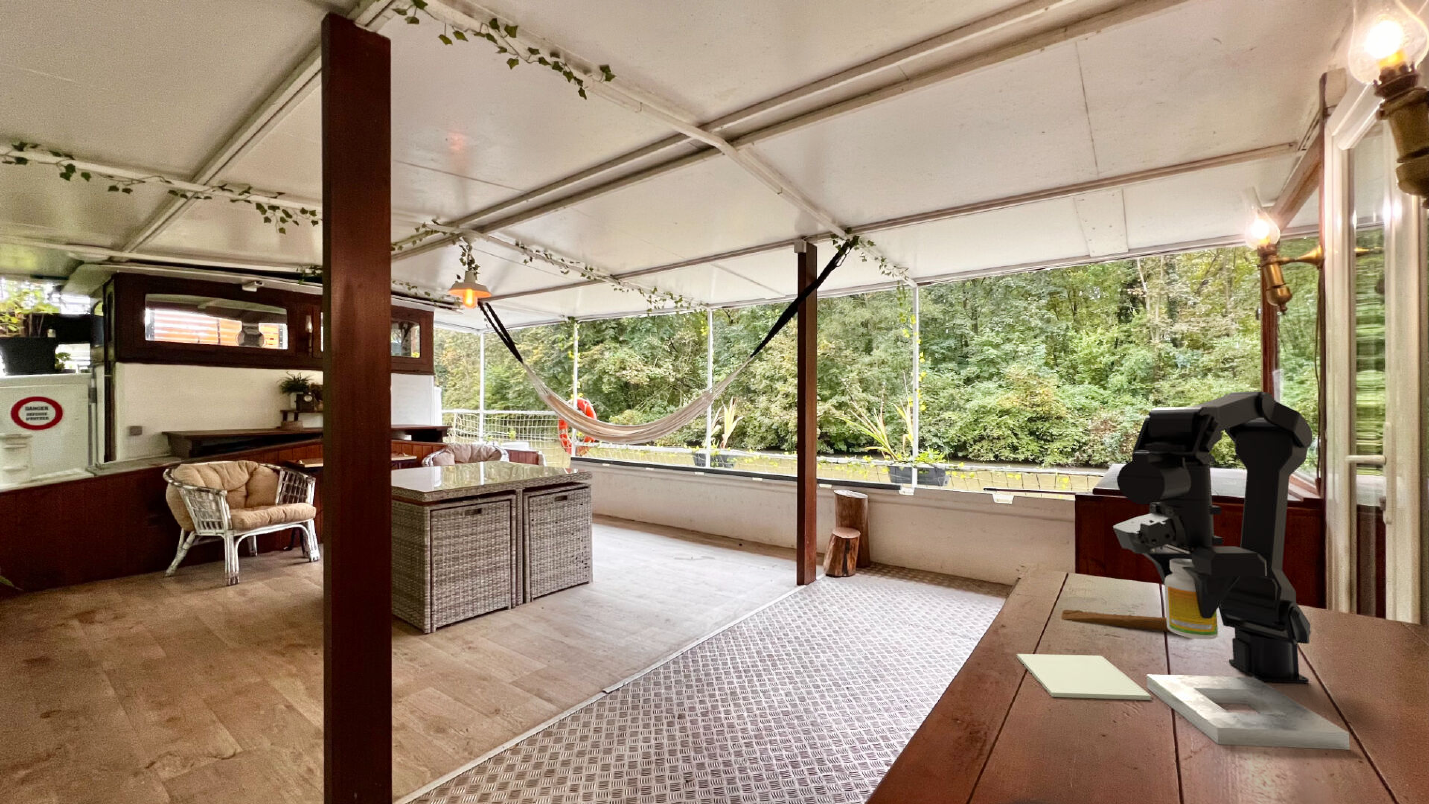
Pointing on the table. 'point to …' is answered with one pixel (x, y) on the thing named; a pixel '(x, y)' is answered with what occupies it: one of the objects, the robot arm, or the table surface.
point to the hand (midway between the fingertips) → (1190, 610)
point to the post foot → (1272, 727)
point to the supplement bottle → (1186, 604)
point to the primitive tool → (1118, 620)
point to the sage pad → (1081, 677)
